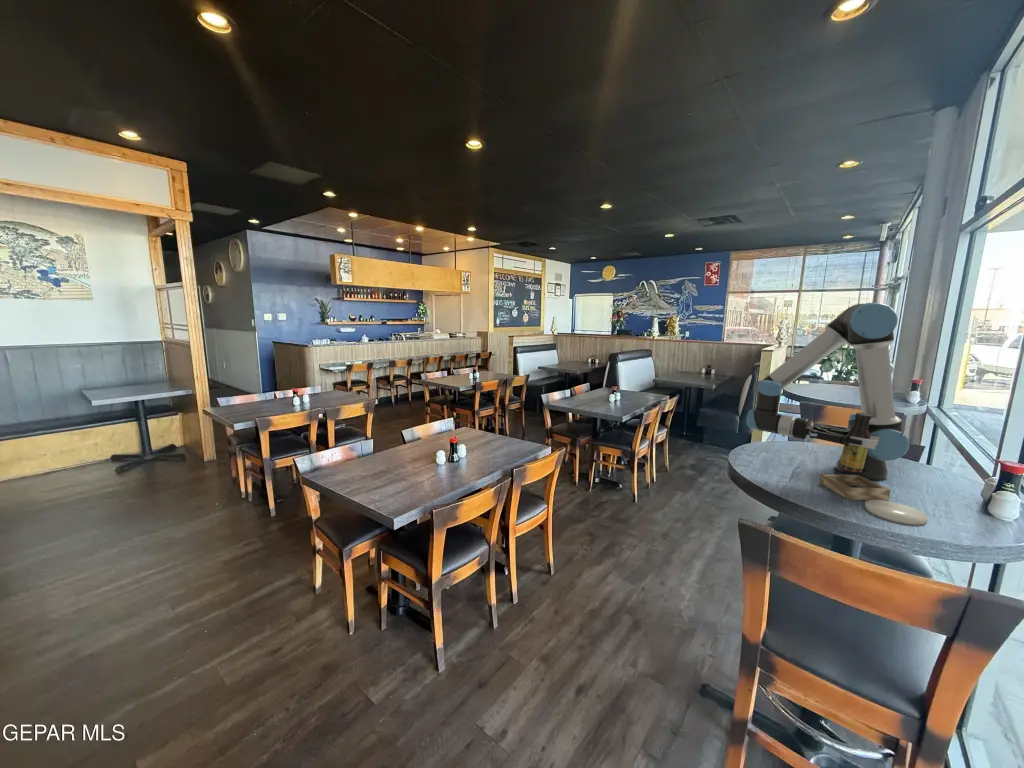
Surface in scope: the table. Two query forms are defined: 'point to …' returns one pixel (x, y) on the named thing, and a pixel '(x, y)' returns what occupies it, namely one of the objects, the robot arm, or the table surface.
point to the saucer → (896, 512)
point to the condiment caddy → (864, 492)
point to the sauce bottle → (855, 454)
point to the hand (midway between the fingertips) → (876, 443)
